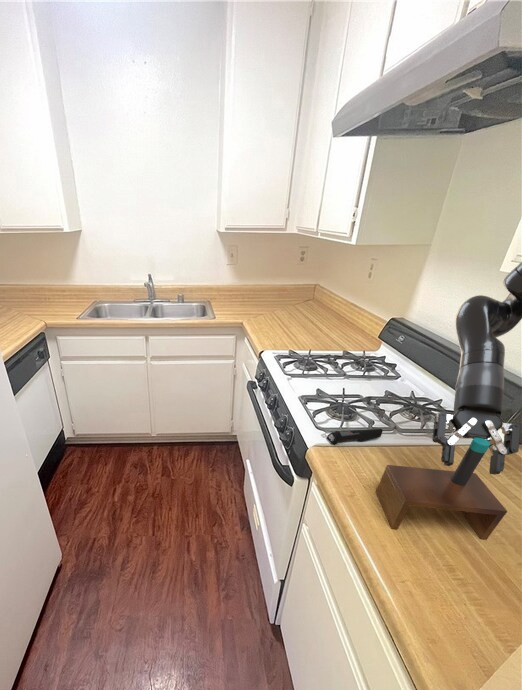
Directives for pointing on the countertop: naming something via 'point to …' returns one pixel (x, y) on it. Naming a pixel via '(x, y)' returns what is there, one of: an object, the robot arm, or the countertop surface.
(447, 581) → the countertop surface
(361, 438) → the electric trimmer
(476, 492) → the shelf
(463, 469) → the marker
